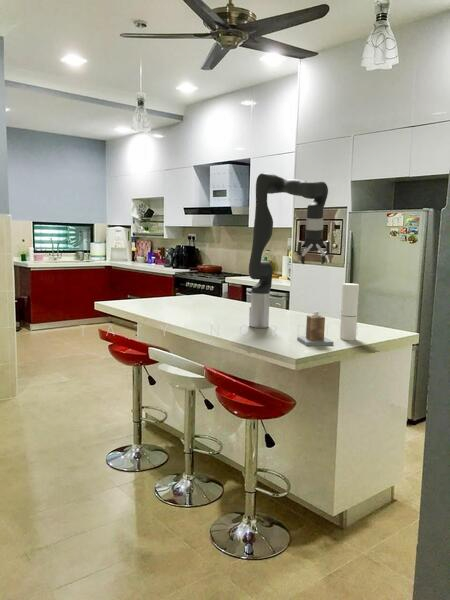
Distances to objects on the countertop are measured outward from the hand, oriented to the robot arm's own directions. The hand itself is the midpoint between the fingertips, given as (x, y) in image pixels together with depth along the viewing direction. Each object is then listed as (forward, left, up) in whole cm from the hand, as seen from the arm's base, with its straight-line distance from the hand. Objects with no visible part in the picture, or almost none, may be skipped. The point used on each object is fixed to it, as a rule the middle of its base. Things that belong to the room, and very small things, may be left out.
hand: (312, 263), depth 220 cm
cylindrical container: (+13, +11, -34) cm, 38 cm away
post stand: (+10, -8, -34) cm, 36 cm away
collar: (+10, -8, -32) cm, 34 cm away
